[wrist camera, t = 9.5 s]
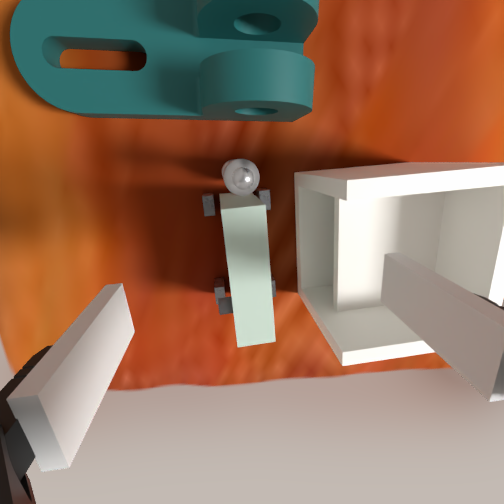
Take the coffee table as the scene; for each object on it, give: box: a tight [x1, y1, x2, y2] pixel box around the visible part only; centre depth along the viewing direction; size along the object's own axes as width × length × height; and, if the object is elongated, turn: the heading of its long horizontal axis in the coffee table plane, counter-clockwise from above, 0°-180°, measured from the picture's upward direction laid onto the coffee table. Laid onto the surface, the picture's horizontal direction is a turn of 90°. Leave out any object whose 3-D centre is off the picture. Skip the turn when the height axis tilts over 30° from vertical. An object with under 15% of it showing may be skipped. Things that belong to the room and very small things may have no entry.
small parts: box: [202, 159, 276, 304], centre depth 19 cm, size 11×5×10 cm, turn 5°
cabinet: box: [294, 162, 504, 366], centre depth 21 cm, size 11×10×10 cm
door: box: [218, 193, 276, 347], centre depth 21 cm, size 9×4×8 cm, turn 5°
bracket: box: [10, 0, 319, 122], centre depth 16 cm, size 18×7×8 cm, turn 90°
